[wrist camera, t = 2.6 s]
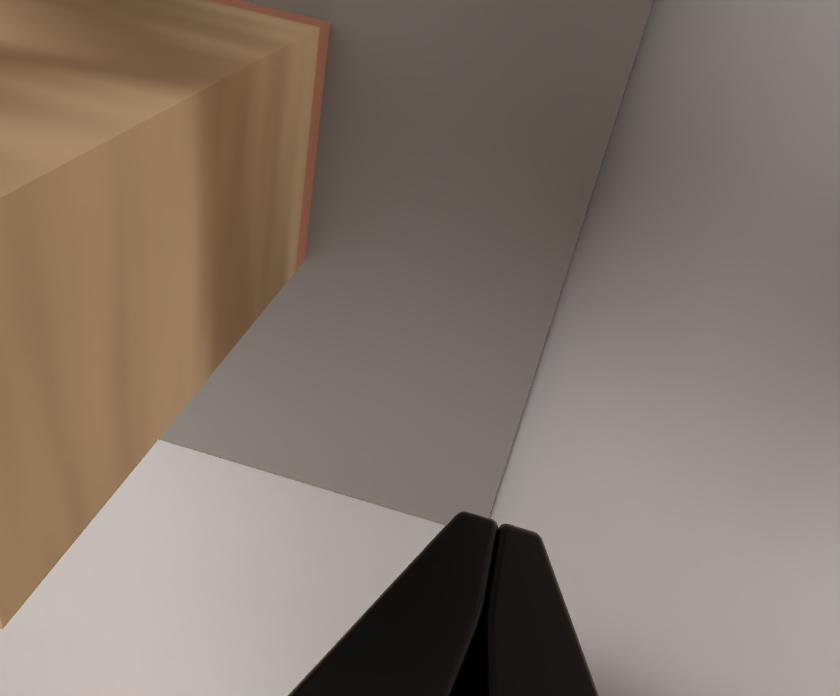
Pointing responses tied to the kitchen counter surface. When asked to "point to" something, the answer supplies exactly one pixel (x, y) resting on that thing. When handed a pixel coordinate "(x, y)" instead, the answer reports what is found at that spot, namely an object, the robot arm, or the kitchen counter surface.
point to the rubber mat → (425, 248)
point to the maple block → (134, 233)
